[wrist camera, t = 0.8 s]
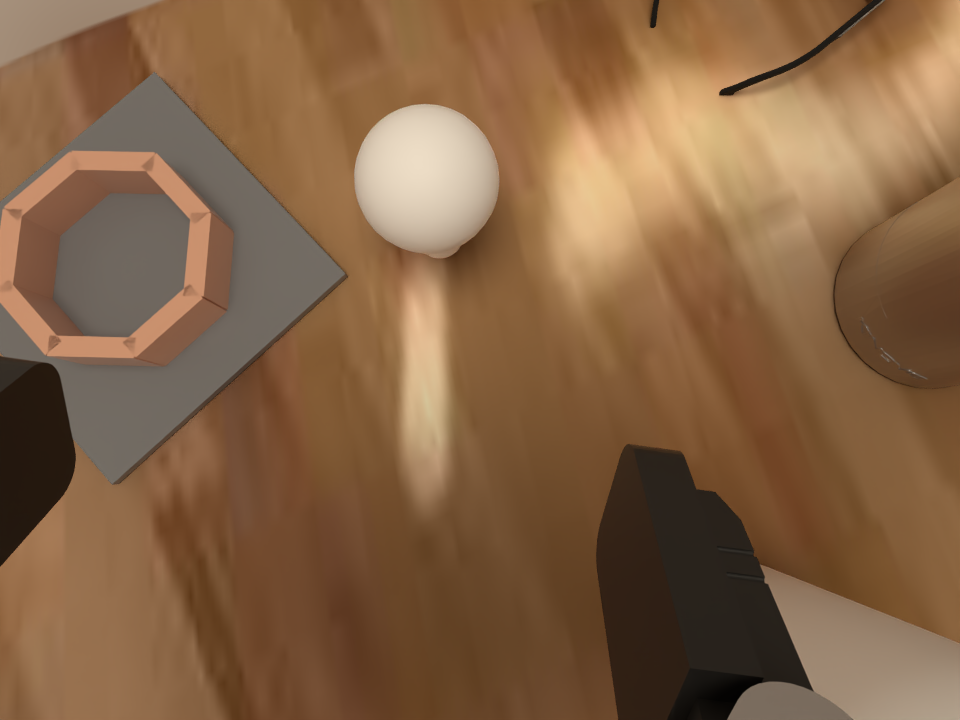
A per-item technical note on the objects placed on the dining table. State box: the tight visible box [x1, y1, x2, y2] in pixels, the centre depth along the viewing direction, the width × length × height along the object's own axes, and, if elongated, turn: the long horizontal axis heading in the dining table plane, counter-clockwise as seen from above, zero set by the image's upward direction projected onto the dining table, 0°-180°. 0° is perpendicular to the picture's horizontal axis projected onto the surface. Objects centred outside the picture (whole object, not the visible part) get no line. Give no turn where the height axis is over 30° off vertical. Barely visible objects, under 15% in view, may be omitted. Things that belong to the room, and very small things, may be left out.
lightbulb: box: [354, 104, 499, 259], centre depth 31 cm, size 6×6×11 cm
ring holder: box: [0, 72, 348, 485], centre depth 35 cm, size 16×16×4 cm
